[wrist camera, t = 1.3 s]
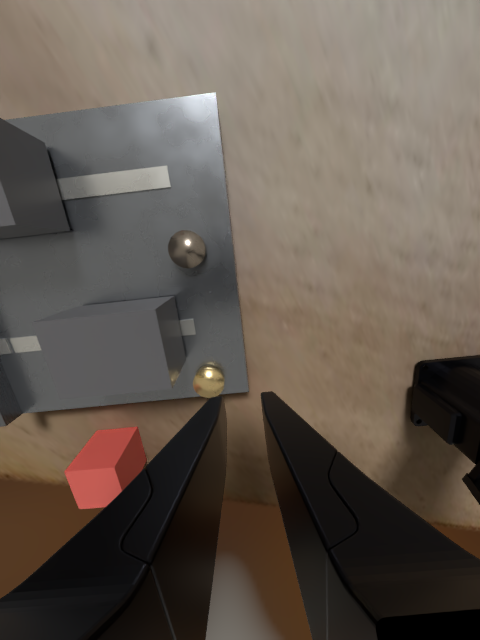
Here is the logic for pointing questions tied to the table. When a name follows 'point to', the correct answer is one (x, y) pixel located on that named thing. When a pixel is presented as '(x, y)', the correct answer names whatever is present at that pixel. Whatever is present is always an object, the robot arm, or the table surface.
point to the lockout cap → (105, 466)
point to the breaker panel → (128, 245)
